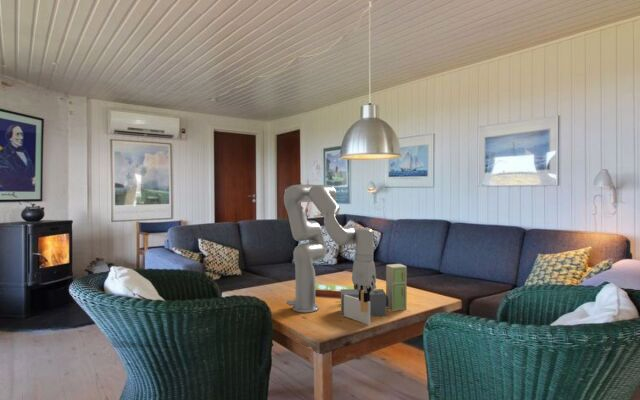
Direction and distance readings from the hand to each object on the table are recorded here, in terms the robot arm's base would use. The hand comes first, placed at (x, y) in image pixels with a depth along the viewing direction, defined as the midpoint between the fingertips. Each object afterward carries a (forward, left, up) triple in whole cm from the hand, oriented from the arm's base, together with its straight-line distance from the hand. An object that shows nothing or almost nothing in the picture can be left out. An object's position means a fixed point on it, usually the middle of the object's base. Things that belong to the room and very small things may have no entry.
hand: (364, 300), depth 170 cm
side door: (-4, +5, -10) cm, 12 cm away
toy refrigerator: (+18, +23, -11) cm, 31 cm away
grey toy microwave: (+1, +17, -11) cm, 20 cm away
